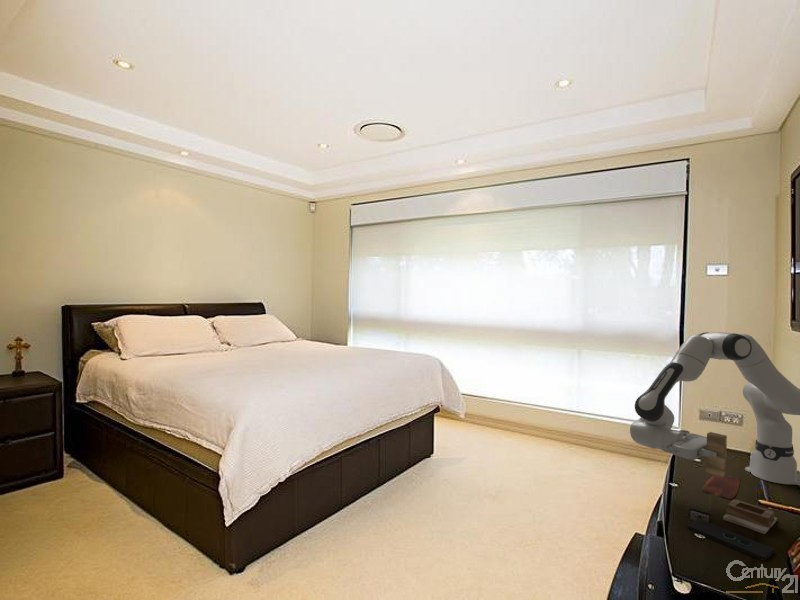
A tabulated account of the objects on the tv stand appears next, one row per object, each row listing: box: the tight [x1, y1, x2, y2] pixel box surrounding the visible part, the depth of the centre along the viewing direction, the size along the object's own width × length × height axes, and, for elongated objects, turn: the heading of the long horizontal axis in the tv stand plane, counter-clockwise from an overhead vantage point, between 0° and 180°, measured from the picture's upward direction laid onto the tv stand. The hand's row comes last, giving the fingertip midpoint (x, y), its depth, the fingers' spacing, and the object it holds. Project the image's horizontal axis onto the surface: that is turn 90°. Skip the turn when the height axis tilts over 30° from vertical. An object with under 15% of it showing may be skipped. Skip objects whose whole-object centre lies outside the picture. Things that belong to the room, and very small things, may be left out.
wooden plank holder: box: [722, 498, 778, 535], centre depth 145 cm, size 14×11×4 cm
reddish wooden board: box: [701, 474, 741, 501], centre depth 172 cm, size 27×10×2 cm, turn 135°
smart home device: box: [687, 518, 775, 561], centre depth 133 cm, size 8×2×20 cm
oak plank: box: [705, 431, 728, 477], centre depth 153 cm, size 3×5×14 cm, turn 37°
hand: (719, 453), depth 152 cm, fingers closed on oak plank, 3 cm apart
